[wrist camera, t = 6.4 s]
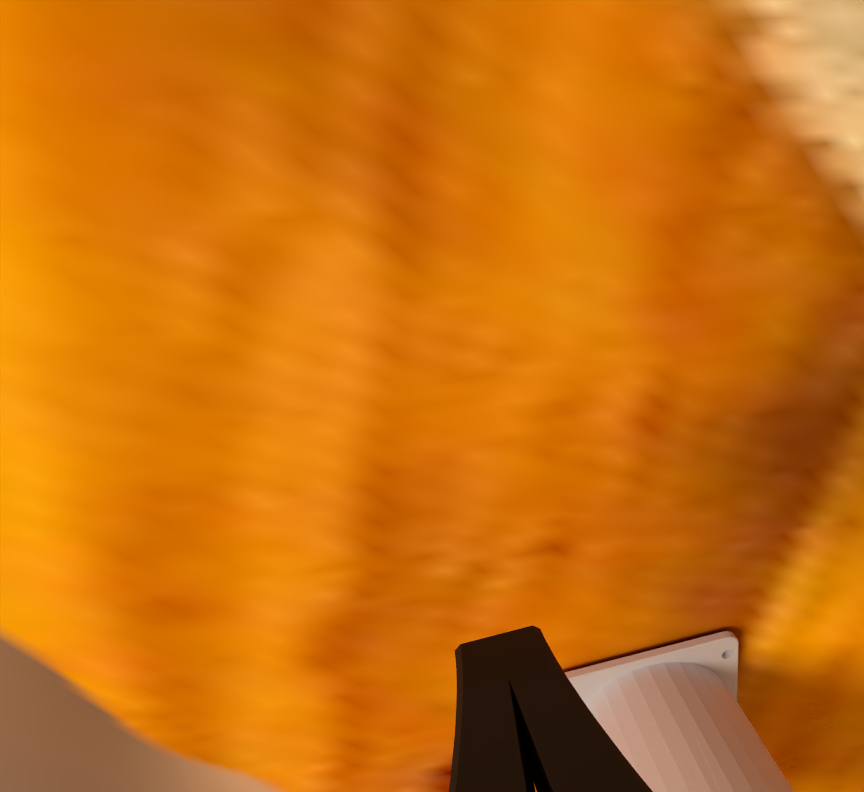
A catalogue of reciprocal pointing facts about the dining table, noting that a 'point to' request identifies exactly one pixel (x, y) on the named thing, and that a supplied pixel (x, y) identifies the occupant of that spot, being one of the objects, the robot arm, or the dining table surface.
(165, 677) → the dining table surface
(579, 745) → the robot arm
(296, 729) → the dining table surface
